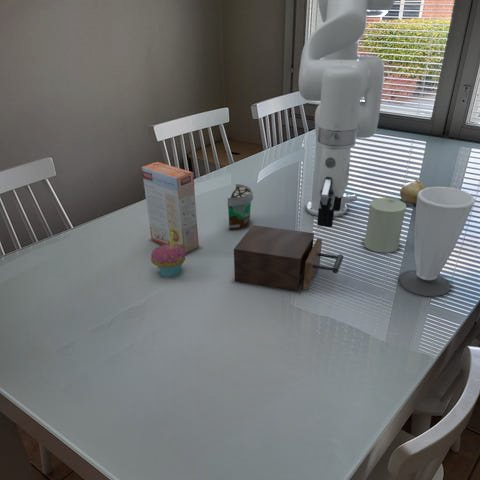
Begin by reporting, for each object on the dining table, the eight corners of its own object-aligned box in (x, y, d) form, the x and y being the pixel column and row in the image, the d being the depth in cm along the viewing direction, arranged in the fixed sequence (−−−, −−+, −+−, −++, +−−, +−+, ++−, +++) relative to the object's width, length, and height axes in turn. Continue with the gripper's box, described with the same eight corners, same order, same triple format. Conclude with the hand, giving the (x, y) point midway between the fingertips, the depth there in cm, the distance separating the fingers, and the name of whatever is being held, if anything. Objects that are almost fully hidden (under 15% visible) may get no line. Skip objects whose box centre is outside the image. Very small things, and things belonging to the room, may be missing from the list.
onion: (427, 206, 150) (432, 184, 146) (402, 207, 150) (406, 185, 146) (420, 197, 156) (424, 175, 152) (395, 197, 157) (399, 176, 153)
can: (401, 240, 131) (409, 198, 124) (395, 255, 124) (403, 212, 117) (368, 235, 134) (374, 194, 127) (360, 249, 128) (366, 206, 121)
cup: (424, 302, 107) (447, 210, 94) (389, 278, 115) (405, 192, 102) (461, 288, 111) (488, 199, 98) (424, 267, 119) (444, 182, 106)
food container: (249, 233, 137) (249, 200, 131) (228, 232, 138) (227, 198, 132) (256, 216, 146) (256, 184, 140) (237, 215, 147) (236, 183, 142)
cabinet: (311, 264, 121) (314, 233, 116) (298, 292, 111) (300, 258, 106) (252, 255, 126) (252, 224, 121) (234, 281, 115) (233, 248, 110)
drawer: (343, 267, 118) (346, 242, 114) (333, 293, 108) (337, 267, 104) (264, 255, 124) (264, 231, 120) (248, 279, 114) (248, 253, 110)
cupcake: (192, 266, 121) (188, 223, 114) (178, 283, 115) (173, 238, 108) (162, 262, 124) (156, 218, 117) (146, 278, 117) (140, 233, 110)
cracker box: (200, 247, 130) (194, 171, 118) (183, 255, 126) (176, 177, 114) (167, 233, 138) (158, 160, 126) (150, 240, 134) (140, 165, 122)
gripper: (348, 150, 87) (338, 236, 98) (362, 127, 101) (352, 205, 111) (308, 146, 90) (303, 231, 100) (326, 124, 103) (320, 201, 113)
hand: (329, 217), depth 105 cm, fingers open, 8 cm apart
